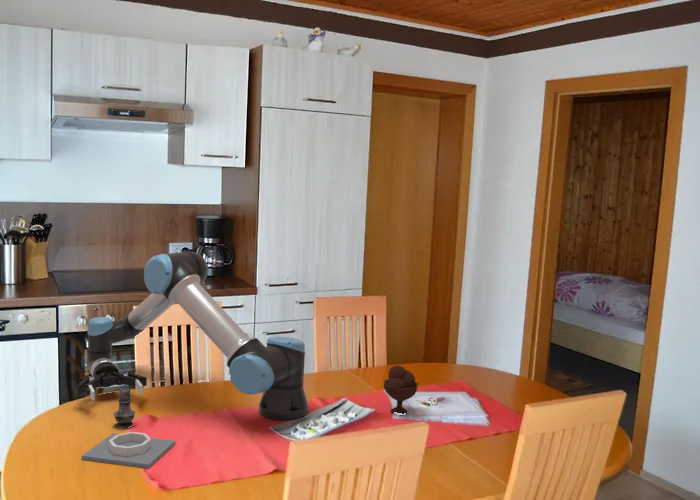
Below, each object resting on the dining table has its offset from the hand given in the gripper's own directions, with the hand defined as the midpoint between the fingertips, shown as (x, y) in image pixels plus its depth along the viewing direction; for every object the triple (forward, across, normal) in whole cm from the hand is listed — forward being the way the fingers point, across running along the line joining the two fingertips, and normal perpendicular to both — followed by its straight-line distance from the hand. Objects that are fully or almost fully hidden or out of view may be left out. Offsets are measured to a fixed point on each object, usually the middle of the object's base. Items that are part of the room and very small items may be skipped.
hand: (117, 393), depth 195 cm
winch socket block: (+28, +2, -6) cm, 29 cm away
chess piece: (+9, 0, -7) cm, 12 cm away
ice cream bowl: (+31, -79, -7) cm, 86 cm away
